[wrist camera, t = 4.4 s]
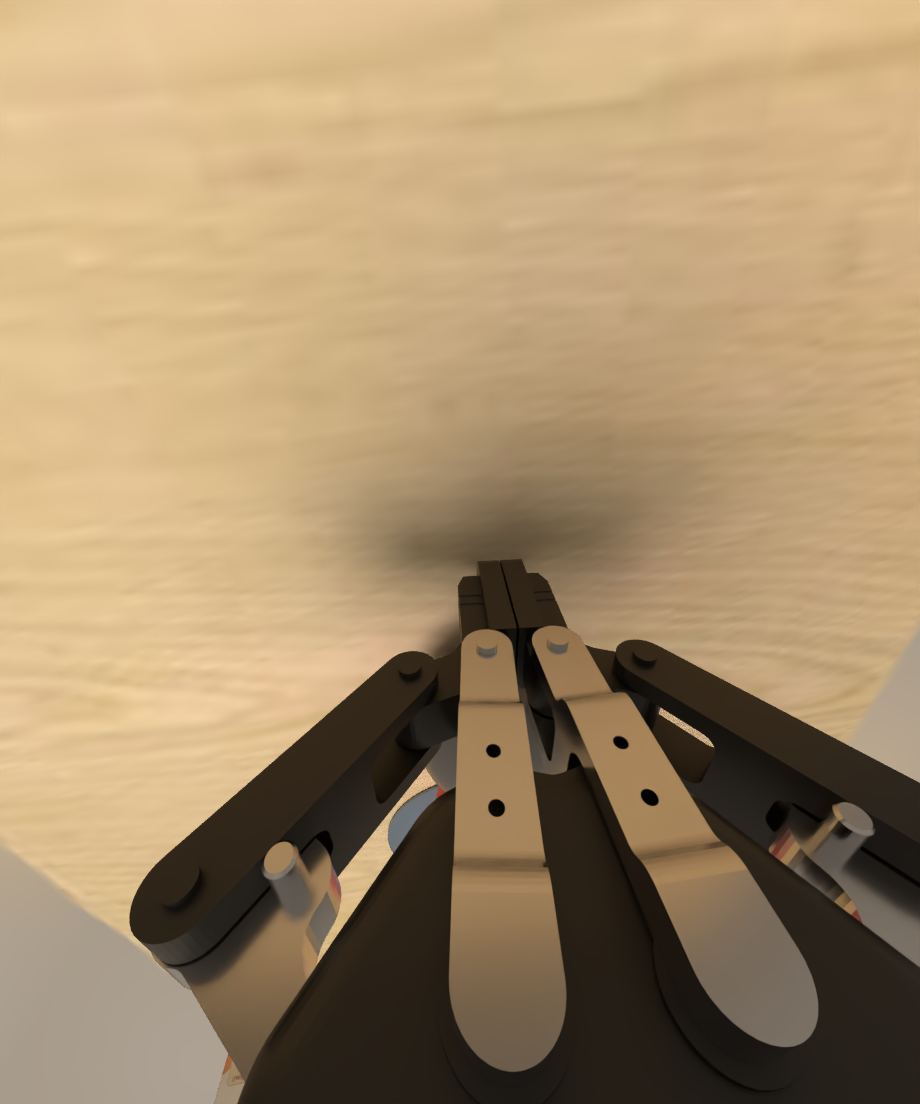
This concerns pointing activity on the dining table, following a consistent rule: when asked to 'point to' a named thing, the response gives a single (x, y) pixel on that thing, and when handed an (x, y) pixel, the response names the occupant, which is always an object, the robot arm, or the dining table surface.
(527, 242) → the dining table surface
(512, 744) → the robot arm
